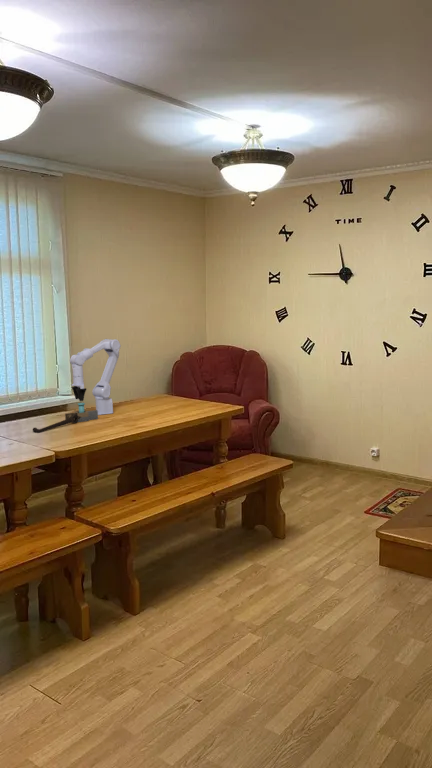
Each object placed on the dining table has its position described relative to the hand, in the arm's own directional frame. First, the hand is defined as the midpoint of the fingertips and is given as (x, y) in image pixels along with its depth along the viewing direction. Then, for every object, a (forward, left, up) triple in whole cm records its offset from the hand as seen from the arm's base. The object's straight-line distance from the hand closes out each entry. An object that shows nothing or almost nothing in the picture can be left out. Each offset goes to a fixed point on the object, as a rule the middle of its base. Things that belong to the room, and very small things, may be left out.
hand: (79, 399), depth 352 cm
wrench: (+17, +17, -11) cm, 26 cm away
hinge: (+2, +8, -10) cm, 13 cm away
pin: (+1, +9, -10) cm, 13 cm away
